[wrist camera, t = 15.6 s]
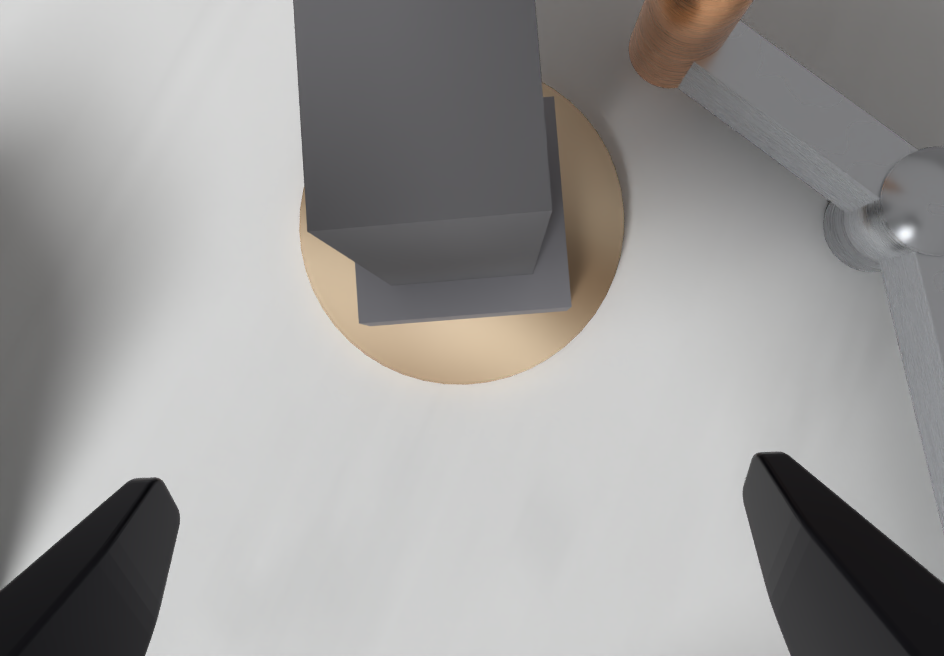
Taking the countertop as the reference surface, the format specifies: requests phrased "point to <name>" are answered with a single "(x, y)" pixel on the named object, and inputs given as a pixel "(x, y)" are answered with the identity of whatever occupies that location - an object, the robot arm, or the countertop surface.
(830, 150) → the grey rod with hub
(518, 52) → the plug
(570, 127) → the coaster
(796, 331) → the countertop surface
